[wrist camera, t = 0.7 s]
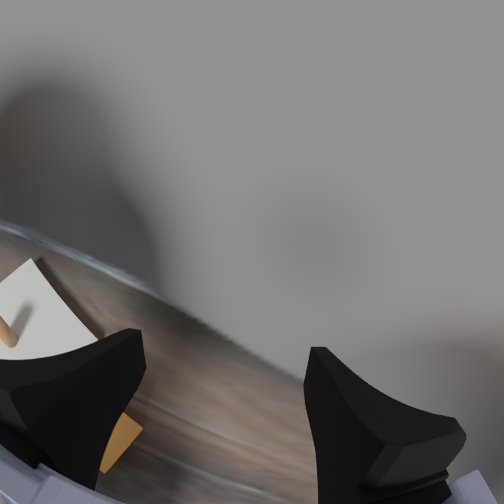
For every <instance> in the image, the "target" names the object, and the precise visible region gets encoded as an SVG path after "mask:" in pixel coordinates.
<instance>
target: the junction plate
mask: <svg viewBox="0 0 504 504" xmlns="http://www.w3.org/2000/svg"><path fill="white" fill-rule="evenodd" d="M96 341H98V339H97V338H96V337H95V336H94V335H93V334H92V333H91V332H90V331H89V330H88V329H87V328H86V327H85V326H84V324H83V323H82V322H81V321H80V320H79V319H78V318H77V317H76V316H75V314H74V313H73V312H72V311H71V310H70V309H69V308H68V306H67V305H66V304H65V303H64V302H63V300H62V299H61V298H60V297H59V295H58V294H57V293H56V292H55V290H54V289H53V288H52V287H51V285H50V284H49V283H48V281H47V280H46V279H45V277H44V276H43V275H42V273H41V272H40V271H39V269H38V268H37V266H36V265H35V264H34V262H33V261H32V259H29V260H28V261H27V262H25V263H24V264H23V265H22V266H20V267H19V268H18V269H17V270H15V271H14V272H13V273H12V274H11V275H9V276H8V277H7V278H6V279H5V280H3V281H2V282H1V283H0V359H7V360H23V359H35V358H42V357H48V356H54V355H58V354H62V353H66V352H69V351H72V350H75V349H78V348H81V347H83V346H86V345H89V344H91V343H94V342H96Z"/></svg>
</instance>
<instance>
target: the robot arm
mask: <svg viewBox="0 0 504 504" xmlns="http://www.w3.org/2000/svg"><path fill="white" fill-rule="evenodd" d="M145 370H146V362H145V355H144V348H143V341H142V333H141V330H137V329H131V328H128V329H125V330H122V331H119V332H117V333H115V334H112V335H110V336H108V337H105V338H103V339H101V340H98V341H96V342H94V343H91V344H89V345H86V346H83V347H81V348H78V349H75V350H72V351H69V352H66V353H62V354H58V355H54V356H48V357H42V358H35V359H23V360H7V359H0V497H2V498H3V499H4V500H5V501H6V502H7V503H9V504H126V503H123V502H120V501H117V500H115V499H112V498H110V497H107V496H105V495H102V494H100V493H97V492H95V491H94V490H95V485H96V481H97V476H98V472H99V469H100V466H101V462H102V459H103V456H104V453H105V450H106V447H107V445H108V442H109V440H110V437H111V435H112V432H113V430H114V428H115V425H116V424H117V422H118V420H119V418H120V416H121V415H122V413H123V411H124V410H125V408H126V407H127V405H128V403H129V402H130V400H131V398H132V397H133V395H134V393H135V392H136V390H137V388H138V387H139V385H140V383H141V380H142V378H143V375H144V373H145ZM303 385H304V397H305V406H306V410H307V415H308V419H309V423H310V428H311V432H312V437H313V441H314V446H315V452H316V463H317V478H318V504H497V502H496V501H495V499H494V497H493V495H492V493H491V491H490V490H489V488H488V486H487V484H486V483H485V481H484V479H483V477H482V476H481V474H480V472H479V471H478V470H475V471H473V472H471V473H469V474H467V475H465V476H463V477H461V478H459V479H457V480H455V481H453V482H452V483H451V484H449V485H447V483H446V481H445V479H447V478H448V476H449V474H448V472H447V470H446V468H447V467H448V466H449V464H450V463H451V462H452V461H453V460H454V458H455V457H456V456H457V454H458V453H459V452H460V450H461V449H462V448H463V446H464V443H465V441H466V433H465V432H464V430H463V429H462V427H461V426H460V424H459V423H458V422H457V420H456V419H455V418H452V417H447V416H442V415H437V414H433V413H429V412H426V411H422V410H419V409H416V408H414V407H411V406H408V405H406V404H404V403H401V402H399V401H397V400H395V399H393V398H391V397H389V396H387V395H385V394H384V393H382V392H380V391H379V390H377V389H375V388H374V387H372V386H371V385H369V384H368V383H366V382H365V381H364V380H362V379H361V378H360V377H359V376H357V375H356V374H355V373H354V372H352V371H351V370H350V369H349V368H348V367H347V366H346V365H345V364H343V363H342V362H341V361H340V360H339V359H338V358H337V357H336V356H335V355H334V354H333V353H332V352H330V351H329V350H328V349H327V348H326V347H311V350H310V355H309V361H308V366H307V370H306V375H305V380H304V384H303Z"/></svg>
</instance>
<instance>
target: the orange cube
mask: <svg viewBox="0 0 504 504" xmlns="http://www.w3.org/2000/svg"><path fill="white" fill-rule="evenodd" d="M142 430H143V428H142V427H141V426H140V425H139V424H137V423H136V422H135V421H134V420H132V419H131V418H130V417H129V416H127V415H126V414H125V413H124V412H123V413H122V415H121V416H120V418H119V420H118V422H117V424H116V425H115V428H114V430H113V432H112V435H111V437H110V440H109V442H108V445H107V447H106V450H105V453H104V456H103V459H102V462H101V466H100V469H99V470H100V471H102V472H103V473H104V474H105V473H106V472H107V471H108V470H109V469H110V468H111V467H112V466H113V464H114V463H115V462H116V461H117V460H118V459H119V457H120V456H121V455H122V454H123V453H124V452H125V450H126V449H127V448H128V447H129V446H130V444H131V443H132V442H133V441H134V440H135V438H136V437H137V436H138V435H139V434H140V432H141V431H142Z"/></svg>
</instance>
